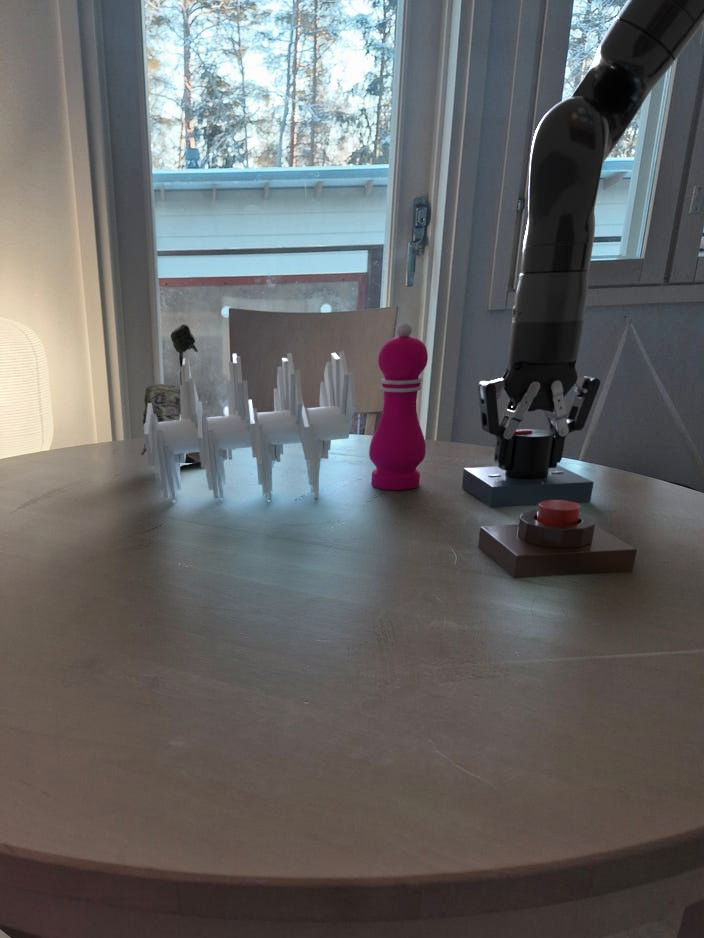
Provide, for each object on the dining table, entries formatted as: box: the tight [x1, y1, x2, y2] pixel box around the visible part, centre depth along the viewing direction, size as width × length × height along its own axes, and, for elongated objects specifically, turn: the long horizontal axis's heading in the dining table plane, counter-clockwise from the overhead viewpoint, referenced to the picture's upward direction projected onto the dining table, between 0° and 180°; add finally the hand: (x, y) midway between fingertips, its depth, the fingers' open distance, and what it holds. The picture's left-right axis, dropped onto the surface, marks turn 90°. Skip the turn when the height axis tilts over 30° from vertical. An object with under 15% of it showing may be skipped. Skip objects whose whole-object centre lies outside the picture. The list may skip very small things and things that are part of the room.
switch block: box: [477, 509, 638, 579], centre depth 70 cm, size 11×9×4 cm
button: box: [536, 500, 582, 526], centre depth 69 cm, size 4×4×2 cm
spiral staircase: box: [143, 350, 358, 501], centre depth 92 cm, size 18×18×25 cm
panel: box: [461, 464, 594, 509], centre depth 92 cm, size 12×10×3 cm
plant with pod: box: [140, 323, 201, 464], centre depth 111 cm, size 8×11×20 cm
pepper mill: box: [368, 322, 429, 491], centre depth 95 cm, size 7×7×20 cm
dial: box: [504, 428, 554, 479], centre depth 90 cm, size 5×5×5 cm
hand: (526, 467), depth 91 cm, fingers closed on dial, 5 cm apart
